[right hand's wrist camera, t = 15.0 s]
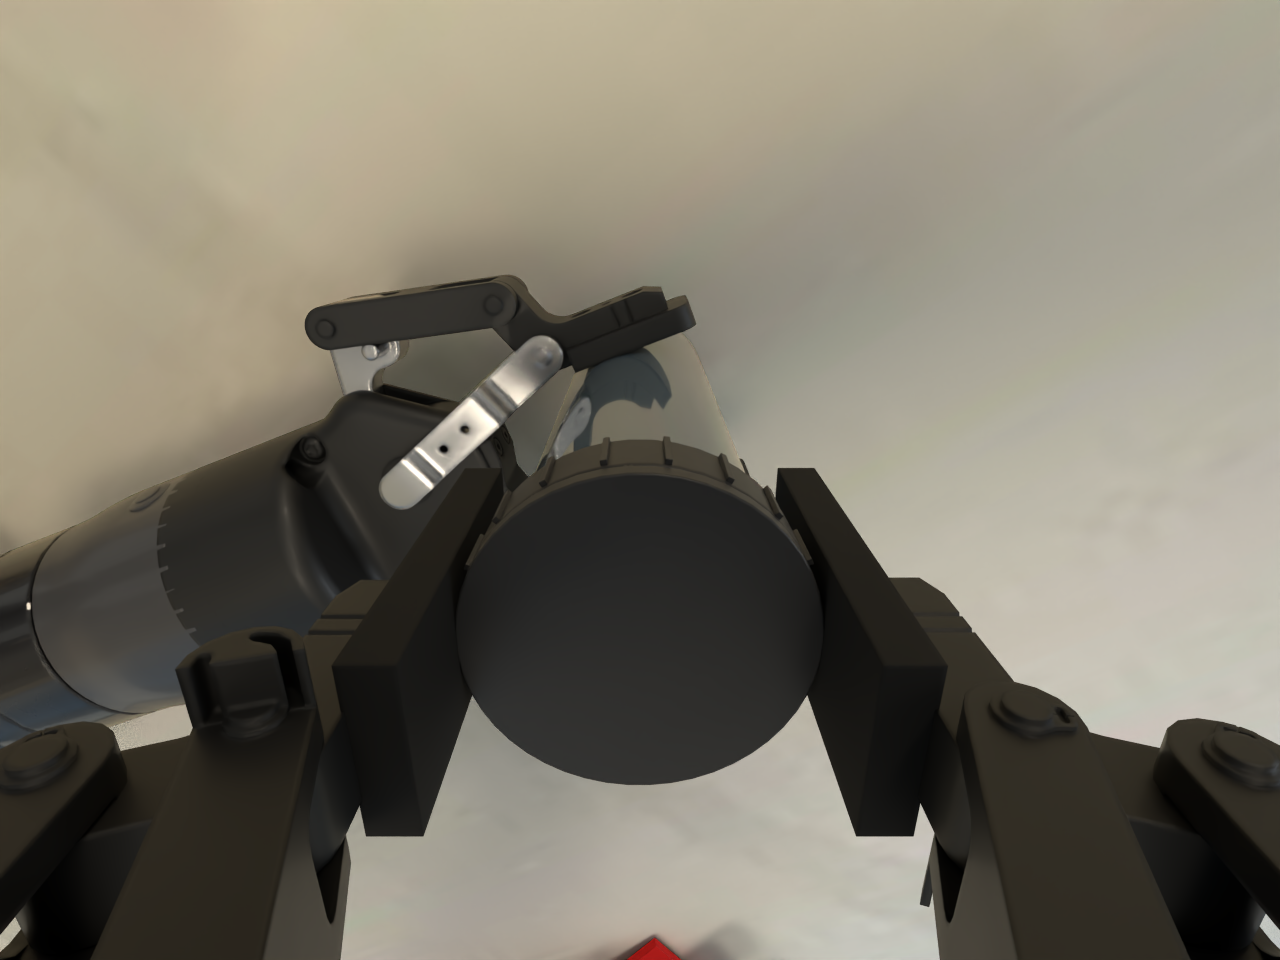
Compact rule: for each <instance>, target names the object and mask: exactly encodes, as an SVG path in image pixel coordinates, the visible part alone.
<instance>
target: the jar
mask: <svg viewBox="0 0 1280 960" xmlns="http://www.w3.org/2000/svg"><path fill="white" fill-rule="evenodd" d="M664 436H667V437H670V440H671V442H675V443H679V444H683V445H687V446H690V447H694V448H698V449H701V450H703V451H705V452H708V453H710V454H713V455H715V456H718V457H719V455H720V453H723V454H725V455H726V456H727V459H728V462H729V463H731V464H732V465H734V466H736V467H738V468H739V469H740V470H742V471H743V472H744V473H745V471H744V469H743V466H742V464H741V461H740V459H739V456H738V454H737V451H736V449H735V446H734V444H733V441H732V439H731V436H730V434H729V431H728V429H727V426H726V424H725V421H724V419H723V416H722V414H721V411H720V409H719V406H718V404H717V401H716V399H715V396H714V394H713V391H712V389H711V386H710V384H709V381H708V379H707V376H706V374H705V371H704V369H703V366H702V364H701V361H700V359H699V356H698V354H697V352H696V350H695V348H694V347H693V345H692V344H691V342H690V341H689V340H688V339H687V337H686V336H685V335H684V334H683V333H678V334H676V335H673V336H671V337H668V338H665V339H663V340H660V341H658V342H655V343H652V344H650V345H647V346H645V347H642V348H639V349H637V350H634V351H632V352H629V353H626V354H624V355H621V356H619V357H616V358H612V359H610V360H607V361H605V362H602V363H600V364H598V365H595V366H593V367H590V368H587V369H585V370H582V371H580V372H577V373H575V374H574V376H573V379H572V381H571V384H570V386H569V389H568V391H567V394H566V396H565V399H564V401H563V404H562V406H561V409H560V411H559V414H558V416H557V418H556V421H555V423H554V426H553V428H552V431H551V433H550V436H549V438H548V441H547V443H546V446H545V448H544V451H543V453H542V456H541V458H540V461H539V463H538V466H537V468H536V471H538V470H539V469H541V468H542V467H543V466H545V464H546V462H547V459H548V458H549V457H551V456H554V458H555V459H558V458H560V457H562V456H564V455H566V454H569V453H571V452H574V451H577V450H579V449H582V448H585V447H589V446H593V445H597V444H601V443H602V442H603V438H606V437H610V441H611V442H612V441H620V440H629V439H640V440H660V441H663V437H664ZM536 471H535V472H536Z"/></svg>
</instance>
